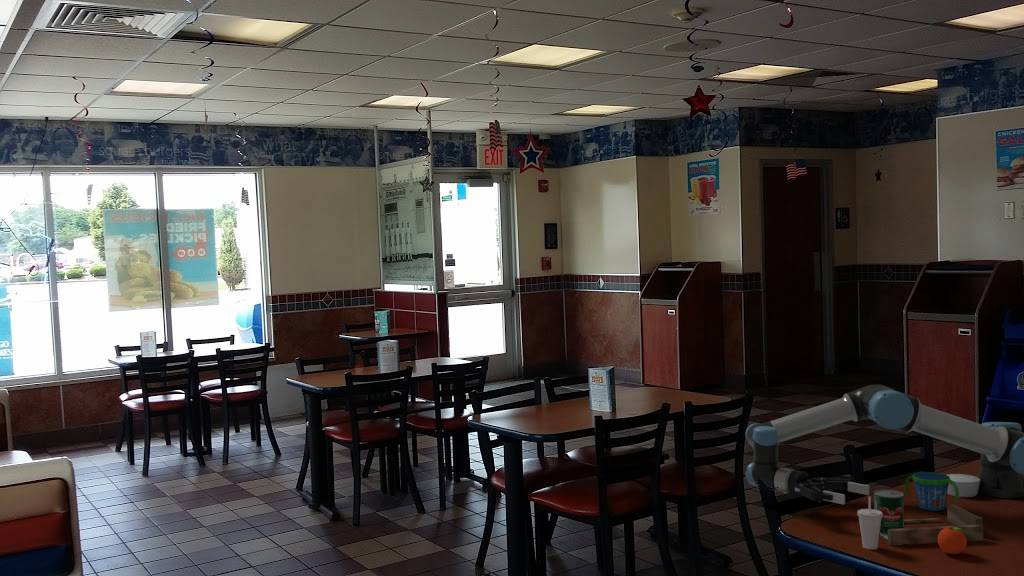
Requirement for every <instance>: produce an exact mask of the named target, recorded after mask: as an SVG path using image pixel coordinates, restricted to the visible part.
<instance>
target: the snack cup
mask: <svg viewBox="0 0 1024 576" xmlns="http://www.w3.org/2000/svg"><path fill="white" fill-rule="evenodd" d="M905 479H906V480H905V482H904V487H903V488H904V493H905V494H906V495H909V493H910V490H909V482H910V480H911V479H912V480H913V483H914V491H915V495H916V500H917V505H918V507H919V509H922V510H924V511H930V512H940V511H944V510H945V509H946V507H947V506H946V503H947V496H948V494H947V492H948V486H949V483H950V484H951V485H953V486H954V489H955V496H954V502H956V503H957V502H958V500H959V498H960V497H959V490H958V487H957V485H956V484H955V482H954V481H952V480H951V479H950V477H949V476H947V474H945V473H941V472H940V473H939V472H932V471H921V472H915V473H913V474H912V475H910V476H908V477H907V478H905Z"/></svg>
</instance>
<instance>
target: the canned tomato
mask: <svg viewBox="0 0 1024 576" xmlns="http://www.w3.org/2000/svg"><path fill="white" fill-rule="evenodd" d="M873 495H874V496H873V505H874V506H873V509H874V510H878V511H881V512H882V516H883V517H882V518H881V524H880V532H879V534H883V535H888V529H902V528H905V524H904V520H905V517H904V513H905V512H904V511H905V509H904V507H905V505H904V504H905V499H904V498H905V494H904V493H903V492H901V491H899V490H894V489H876V490H874V491H873Z"/></svg>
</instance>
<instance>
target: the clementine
mask: <svg viewBox="0 0 1024 576" xmlns="http://www.w3.org/2000/svg"><path fill="white" fill-rule="evenodd" d="M959 529H960V528H956V527H955V528H953V527H947V528H945V529H943V530H941V531H940V533H939V535H938V543H937V544H938V546H939V548H940V549H941V550H942V551H943V552H944V553H947V554H949V555H958V554H961V553H962V552H963V551H964V550H965V549H966V547H967V542H968V541H966V537H965V535H964V534H963V533H962V532H961V531H960V530H962V529H960V530H959ZM965 532H966V531H965ZM966 533H967V532H966ZM967 534H968V533H967Z"/></svg>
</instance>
